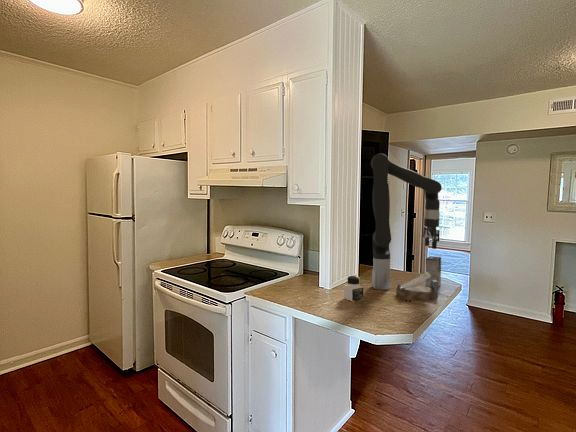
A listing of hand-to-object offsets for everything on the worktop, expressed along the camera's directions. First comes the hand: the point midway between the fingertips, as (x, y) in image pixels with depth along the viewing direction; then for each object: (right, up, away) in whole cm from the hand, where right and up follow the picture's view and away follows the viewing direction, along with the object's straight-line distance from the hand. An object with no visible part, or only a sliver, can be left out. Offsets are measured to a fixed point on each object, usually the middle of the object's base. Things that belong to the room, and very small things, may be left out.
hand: (430, 247), depth 178 cm
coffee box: (+6, -23, +10) cm, 26 cm away
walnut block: (-12, -25, -10) cm, 29 cm away
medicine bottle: (-45, -26, -12) cm, 53 cm away
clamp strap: (-13, -17, -10) cm, 24 cm away
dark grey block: (-2, -25, -10) cm, 27 cm away
